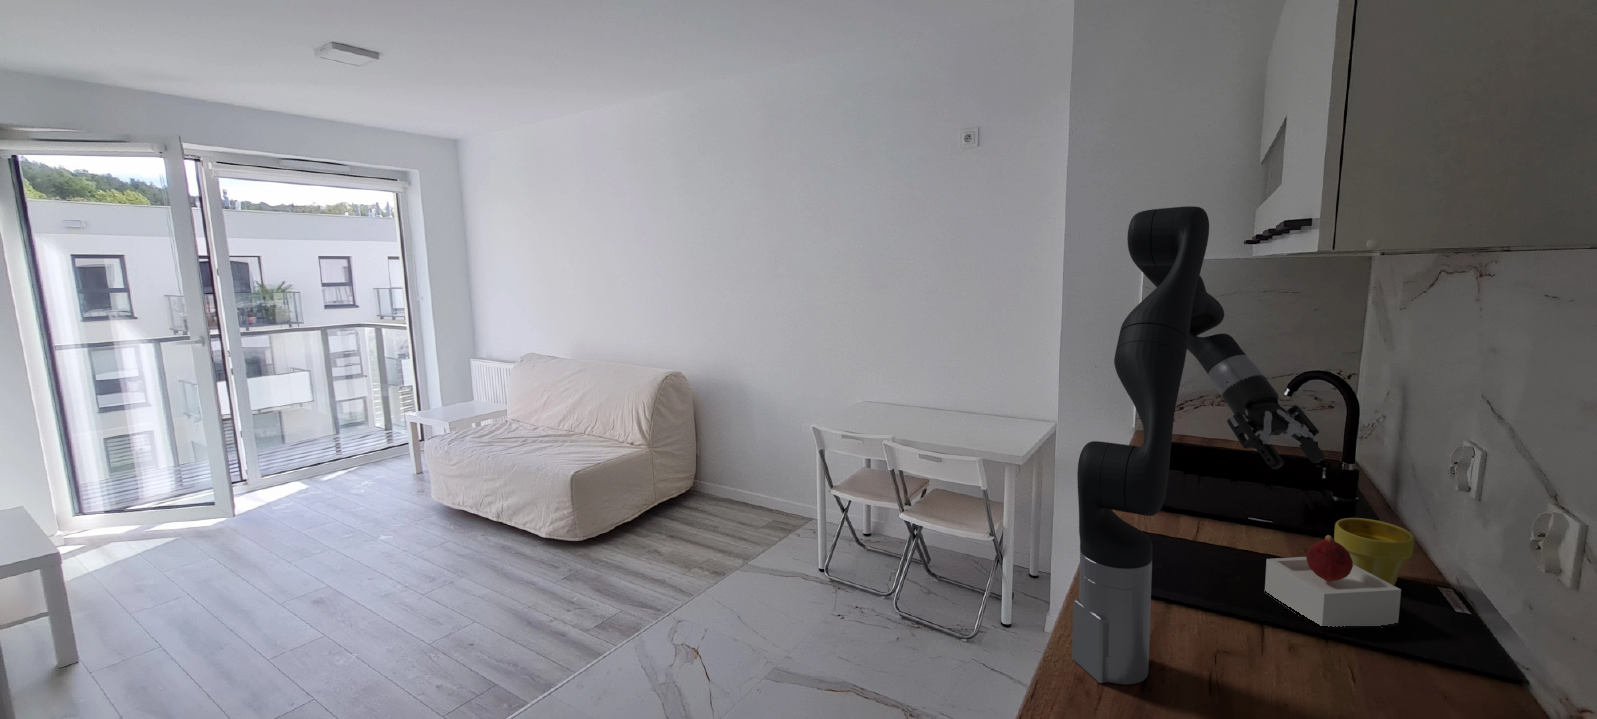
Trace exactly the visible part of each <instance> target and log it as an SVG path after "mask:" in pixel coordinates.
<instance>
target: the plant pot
mask: <svg viewBox="0 0 1597 719" xmlns="http://www.w3.org/2000/svg"><path fill="white" fill-rule="evenodd" d="M1333 535H1334V538H1333V540H1334V541H1335V542H1337V543H1339V544H1340V545H1342V546H1343V547H1344V548H1345V549H1346V550H1347V551H1348V552H1349V554H1350V556H1351V558H1352V561H1353V565H1355V566H1357V567H1359V568H1361V569H1363V570H1365V571H1367V572H1369V573H1370V574H1372V575H1374V576H1376V577H1378V578H1380V579H1382V580H1384V581H1386V582H1388V583H1390V584H1391V585H1393V586H1395V585H1396V584H1397V583H1396V582H1397V581H1398V578H1399V575H1400V573H1401V571H1402V569H1403V567H1404V564H1405V562H1406V560H1408V559H1410V558H1411V557H1412V556H1413V552H1414V548H1415V547H1414V544H1415V536H1414V535H1413V534H1412V533H1411V532H1410V531H1409V530H1407V529H1405V528H1403V527H1401V526H1398V525H1395V524H1392V523H1388V522H1385V521H1382V520H1377V519H1376V520H1375V519H1370V518H1364V517H1363V518H1362V517H1361V518H1360V517H1348V518H1347V517H1346V518H1340V519H1339V520H1337V521H1336V522H1335V524H1334V534H1333Z"/></svg>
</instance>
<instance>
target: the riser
mask: <svg viewBox="0 0 1597 719" xmlns="http://www.w3.org/2000/svg"><path fill="white" fill-rule="evenodd" d="M1265 564H1266V566H1265V579H1264V580H1265V582H1264V592H1265V591H1266V592H1267V593H1269V594H1270V595H1272V596H1273V597H1274V598H1276V599H1278V600H1279V601H1281V602H1282V603H1284V604H1286V605H1287V606H1288V607H1291V608H1292V609H1294V610H1295V611H1297V612H1299V613H1300V614H1301V615H1304V616H1305V617H1307V618H1308V619H1310V620H1312V621H1314V622H1315V623H1317V624H1319V625H1320V626H1328V627H1330V626H1332V627H1335V626H1336V627H1338V626H1340V627H1342V626H1344V627H1345V626H1381V625H1388V624H1394V623H1398V624H1399V619H1400V618H1399V617H1400V606H1401V596H1402V594H1401V592H1402V589H1401V588H1399V587H1397V586H1395V585H1394V586H1393V585H1391V584H1390V583H1388V582H1386V581H1384V580H1382V579H1380V578H1378V577H1376V576H1374V575H1372V574H1370V573H1369V572H1367V571H1365V570H1363V569H1361V568H1359V567H1357V566H1355V565H1353V567H1352V570H1351V572H1350V574H1349V575H1348V576H1347V577H1345V578H1343V579H1340V580H1337V581H1332V582H1328V581H1326V580H1324V579H1322V578H1320V577H1319V576H1317V575H1316V574H1315V573H1314V572H1313V571H1312V570H1311V569H1310V567H1309V566H1308V562H1307V559H1306V556H1295V557H1280V558H1279V557H1276V558H1267V559H1266V562H1265ZM1267 593H1266V594H1267ZM1270 595H1269V596H1270ZM1274 598H1273V599H1274Z"/></svg>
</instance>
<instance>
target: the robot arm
mask: <svg viewBox="0 0 1597 719" xmlns="http://www.w3.org/2000/svg"><path fill="white" fill-rule="evenodd" d="M1127 230H1128V231H1127V250H1128V252H1129V253H1128V254H1129V256H1130V258H1131V260H1132V261H1133V263H1134V264H1135V266H1136V267H1137V268H1138V269H1139V270H1140V271H1141V272H1142V274H1144V275H1145V277H1146V278H1147V279H1148V280H1149V281H1150V282H1151V283H1152V284H1153V285H1154V286H1155V287H1156V288H1155V289H1154V290H1153V291H1152V292H1150V293H1149V294H1148V295H1147V296H1146V297H1144V299H1143V300H1141V301H1140V302H1139V303H1138V304H1137V305H1136V306H1135V307H1134V308H1133V310H1131V312H1129V314H1128V315H1127V316H1126V318H1125V319H1124V320H1123V322H1122V324H1121V326H1120V331H1119V333H1118V338H1117V343H1116V348H1115V354H1114V358H1113V359H1114V361H1113V364H1114V368H1115V372H1116V374H1117V377H1118V378H1119V380H1120V383H1121V385H1122V386H1123V388H1124V389H1125V391H1126V393H1127V395H1128V396H1129V398H1130V400H1131V401H1132V403H1133V405H1134V407H1135V409H1136V413H1137V414H1138V417H1139V420H1140V421H1141V425H1142V427H1143V428H1142V429H1143V437H1144V438H1143V443H1142V444H1141V446H1138V445H1130V444H1122V443H1117V442H1115V443H1114V442H1108V441H1107V442H1106V441H1100V440H1099V441H1098V440H1095V441H1094V440H1092V441H1089V442H1088V443H1086V444H1085V445H1084V446H1083V448H1082V449H1081V451H1080V454H1079V457H1078V462H1077V472H1076V474H1077V499H1078V500H1077V502H1078V534H1079V535H1078V536H1079V581H1078V582H1079V585H1078V587H1079V590H1078V592H1079V593H1078V596H1079V597H1078V598H1076V599H1073V602H1072V603H1073V604H1072V656H1071V658H1072V660H1073V661H1074V662H1075V663H1076V664H1078V666H1080V668H1082V669H1083V670H1084V671H1086V672H1087V674H1088V675H1090V676H1091V677H1092V678H1093V679H1095V680H1096V681H1097V682H1098V683H1099V684H1104V683H1112V684H1117V685H1135V684H1138V683H1139V684H1140V683H1142V682H1143V681H1144V680H1146V679H1147V677H1148V675H1149V661H1150V660H1149V659H1150V636H1151V635H1150V634H1151V632H1150V630H1151V603H1152V601H1151V600H1152V598H1151V597H1152V596H1151V595H1152V575H1153V574H1152V571H1153V543H1152V540H1151V539H1150V537H1149V536H1148V535H1147V534H1146V533H1145V532H1144V531H1142V530H1140V529H1139V528H1137V527H1135V526H1134V525H1132V524H1130V523H1128V522H1127V521H1125V520H1123V518H1120V517H1119V515H1117V513H1115V512H1114V511H1118V512H1123V513H1128V514H1133V515H1134V514H1135V515H1140V516H1145V517H1146V516H1147V517H1153V516H1155V515H1156V516H1157V514H1158V513H1159V512H1160V511H1161V510H1162V507H1163V504H1164V503H1165V499H1166V496H1167V495H1166V494H1167V489H1168V484H1169V483H1168V479H1169V474H1170V463H1171V450H1172V440H1173V431H1174V430H1173V429H1174V421H1175V420H1174V419H1175V413H1176V406H1177V402H1178V397H1179V391H1180V387H1181V381H1182V377H1183V372H1184V369H1185V368H1184V367H1185V362H1186V357H1187V351H1188V352H1190V353H1191V354H1192V355H1193V357H1194V358H1195V359H1196V360H1197V361H1198V362H1199V364H1200V365H1201V367H1202V368H1203V369H1204V371H1205V373H1206V374H1207V375H1208V376H1209V378H1210V380H1211V382H1212V384H1213V386H1214V388H1215V389H1216V390H1217V392H1218V393H1219V395H1220V396H1221V398H1222V400H1224V402H1225V404H1226V405H1227V406H1228V407H1229V409H1230V411H1231V412H1232V413H1233V415H1232V416H1230V417H1229V418H1228V419H1227V420H1226V422H1227V424H1228V426H1229V427H1230V429H1231V430H1232V432H1233V434H1234V436H1236V438H1237V440H1238V442H1239V444H1241V446H1242V447H1243V448H1244V449H1246V450H1248V449H1253V450H1254V451H1256V452H1258V453H1259V454H1260V456H1261V458H1262V459H1263V460H1264V461H1265V463H1266V464H1267V466H1269V467H1270V468H1271V469H1272V470H1278V469H1280V468H1281V467H1282V466H1284V465H1285V461H1284V459H1283V458H1282V457H1281V455H1280V454H1279V453H1278V451H1277V449H1275V447H1274V445H1273V444H1270V436H1281V437H1283V438H1285V439H1290V440H1292V441H1293V442H1296V444H1299V445H1298V446H1299V448H1300V449H1301V450H1302V452H1303V453H1304V455H1305V456H1306V457H1307V458H1308V460H1309V461H1310V462H1311V464H1317V463H1320V462H1321V461H1323V460H1324V459H1325V458H1326V456H1325V453H1324V452H1323V451H1322V449H1321V448H1320V447H1319V445H1318V444H1317V443H1316V441H1314V437H1316V436H1317V435H1318V434H1319V433H1320V431H1319V429H1318V428H1317V427H1316V426H1315V425H1314V423H1313V422H1312V420H1310V418H1309V417H1308V416H1307V415H1306V414H1305V412H1304V411H1303V410H1302V409H1301V407H1300V406H1298V405H1297V404H1294V405H1292V406H1291V407H1289V408H1284V407H1283V406H1281V405H1280V403H1279V398H1280V396H1279V393H1278V391H1277V390H1276V389H1275V388H1274V387H1273V386H1272V384H1271V383H1270V382H1269V380H1268V379H1267V378H1266V376H1265V375H1264V374H1263V373H1262V372H1261V370H1260V368H1259V367H1258V366H1257V365H1256V364H1255V363H1254V362H1253V361H1252V360H1251V359H1250V358H1249V357H1248V356H1247V354H1246V352H1244V350H1243V349H1242V348H1241V347H1240V345H1239V343H1238V342H1237V341H1236V339H1234V337H1233V336H1232V335H1230V334H1228V333H1217V334H1216V333H1215V334H1213V335H1208V336H1200V335H1201V334H1203V333H1206V332H1207V331H1209V330H1212V329H1214V328H1216V327H1218V326H1219V325H1221V323H1222V322H1223V320H1224V318H1225V311H1224V308H1223V306H1222V305H1221V303H1220V302H1219V301H1218V300H1217V299H1216V298H1215V297H1214V296H1213V295H1211V294H1210V293H1208V292H1207V289H1206V287H1205V282H1204V280H1203V278H1202V276H1201V271H1202V267H1203V263H1204V260H1205V255H1206V252H1207V247H1208V243H1209V235H1210V219H1209V216H1208V213H1207V212H1206V210H1205V209H1204V208H1202V207H1200V206H1192V205H1191V206H1187V205H1186V206H1176V207H1164V208H1163V207H1162V208H1152V209H1148V210H1147V209H1146V210H1142V211H1138V212H1137V213H1135V214H1134V215H1133V216H1132V218H1131V220H1130V221H1129V225H1128V229H1127ZM1289 426H1291V427H1289ZM1304 426H1305V427H1306V428H1307V429H1308V430H1307V429H1305V428H1304ZM1296 433H1298V434H1299V435H1300V436H1299V435H1298V434H1296Z"/></svg>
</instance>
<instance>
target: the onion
mask: <svg viewBox="0 0 1597 719" xmlns="http://www.w3.org/2000/svg"><path fill="white" fill-rule="evenodd" d="M1305 557H1306V559H1307V562H1308V566H1309V567H1310V569H1311V570H1312V571H1313V572H1314V573H1315V574H1316V575H1317V576H1319V577H1320V578H1322V579H1324V580H1326V581H1328V582H1332V581H1337V580H1340V579H1343V578H1345V577H1347V576H1348V575H1349V574H1350V572H1351V570H1352V567H1353V561H1352V558H1351V556H1350V554H1349V552H1348V551H1347V550H1346V549H1345V548H1344V547H1343V546H1342V545H1340V544H1339V543H1337V542H1335V540H1334V538H1333V536H1332V535H1329V534H1327V535H1326V536H1325V538H1324V539H1323V540H1321V541H1318V542H1317V541H1316V542H1315V543H1314V544H1312V545H1311V546H1310V547H1309V549H1308V550H1307V552H1306V556H1305Z"/></svg>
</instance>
